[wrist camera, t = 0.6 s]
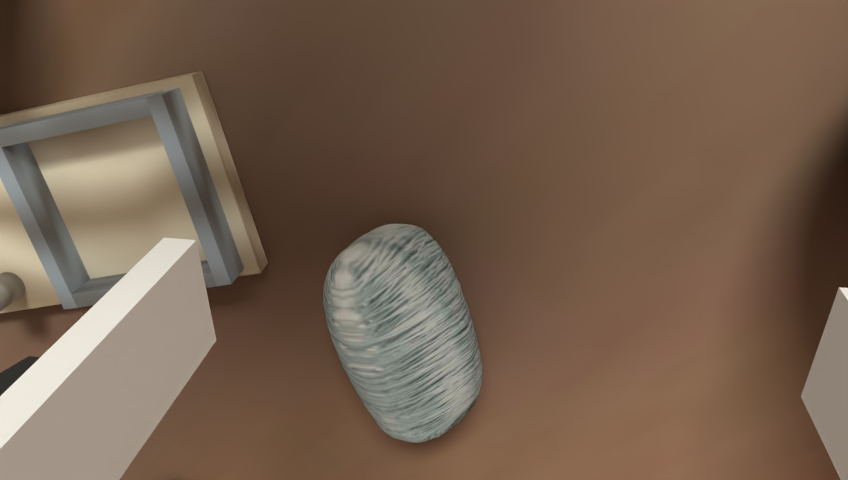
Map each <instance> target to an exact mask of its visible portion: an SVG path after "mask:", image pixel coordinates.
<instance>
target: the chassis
mask: <svg viewBox="0 0 848 480" xmlns="http://www.w3.org/2000/svg"><path fill="white" fill-rule="evenodd" d="M163 238H175V239H188V240H196V241H197V246H198V251H199V256H200V261H201V266H202V271H203V276H204V281H205V286H206V288H210V287H217V286H223V285H230V284H232V283H233V282H234V281H235V279H236V278H237V277H239V276H245V275H252V274H258V273H261V272H262V271H263V269H264V268H265V267H266V265H267V264H268V261H267V258H266V255H265V253H264V250H263V247H262V244H261V241H260V238H259V235H258V232H257V229H256V226H255V223H254V220H253V217H252V214H251V211H250V209H249V206H248V203H247V200H246V197H245V194H244V191H243V188H242V185H241V182H240V179H239V176H238V173H237V170H236V167H235V164H234V162H233V159H232V156H231V153H230V150H229V147H228V144H227V141H226V138H225V135H224V132H223V129H222V126H221V123H220V120H219V118H218V115H217V112H216V109H215V106H214V103H213V100H212V97H211V94H210V91H209V88H208V85H207V82H206V79H205V76H204V73H203V71H198V72H193V73H189V74H184V75H180V76H175V77H171V78H166V79H162V80H157V81H153V82H148V83H144V84H139V85H134V86H130V87H125V88H121V89H116V90H112V91H107V92H103V93H98V94H94V95H89V96H85V97H80V98H76V99H71V100H66V101H62V102H57V103H53V104H48V105H44V106H39V107H35V108H30V109H26V110H21V111H17V112H12V113H8V114H3V115H0V313H6V312H13V311H19V310H26V309H32V308H39V307H45V306H52V305H58V304H61V305H62V307H63V309H64V310H66V309H73V308H79V307H86V306H92V305H95V304H96V303H97V302H98V301H99V300H100V299H101V298H102V297H103V296H104V295H105V294H106V293H107V292H108V291H109V290H110V289H111V288H112V287H113V286H114V285H115V284H117V283H118V282H119V281H120V280H121V279H122V278H123V277H124V276H125V275H126V274H127V273H128V272H129V271H130V270H131V269H132V268H133V267H134V266H135V265H136V264H137V263H138V262H139V261H140V260H141V259H142V258H143V257H144V256H145V255H146V254H147V253H149V252H150V251H151V250H152V249H153V248H154V247H155V246H156V245H157V244H158V243H159V242H160V241H161V240H162V239H163Z"/></svg>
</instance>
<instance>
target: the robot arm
mask: <svg viewBox="0 0 848 480" xmlns="http://www.w3.org/2000/svg"><path fill="white" fill-rule="evenodd" d="M215 342H216V336H215V331H214V326H213V321H212V316H211V311H210V306H209V301H208V296H207V291H206V286H205V281H204V276H203V271H202V266H201V261H200V256H199V251H198V246H197V241H196V240H188V239H175V238H163V239H162V240H161V241H160V242H159V243H158V244H157V245H156V246H155V247H154V248H153V249H152V250H151V251H150V252H149V253H147V254H146V255H145V256H144V257H143V258H142V259H141V260H140V261H139V262H138V263H137V264H136V265H135V266H134V267H133V268H132V269H131V270H130V271H129V272H128V273H127V274H126V275H125V276H124V277H123V278H122V279H121V280H120V281H119V282H118V283H117V284H115V285H114V286H113V287H112V288H111V289H110V290H109V291H108V292H107V293H106V294H105V295H104V296H103V297H102V298H101V299H100V300H99V301H98V302H97V303H96V304H95V305H94V306H93V307H92V308H91V309H90V310H89V311H88V312H87V313H86V314H85V315H84V316H82V317H81V318H80V319H79V320H78V321H77V322H76V323H75V324H74V325H73V326H72V327H71V328H70V329H69V330H68V331H67V332H66V333H65V334H64V335H63V336H62V337H61V338H60V339H59V340H58V341H57V342H56V343H55V344H54V345H53V346H52V347H51V348H49V349H48V350H47V351H46V352H45V353H44V354H43V355H42V356H41V357H31V356H29V357H27V358H25V359H24V360H22V361H20V362H18V363H17V364H15V365H13V366H12V367H10V368H8V369H6V370H5V371H3V372H1V373H0V480H119V479H120V478H121V477H122V475H123V474H124V472H125V471H126V469H127V468H128V467H129V465H130V464H131V462H132V461H133V459H134V458H135V457H136V455H137V454H138V452H139V451H140V449H141V448H142V446H143V445H144V444H145V442H146V441H147V439H148V438H149V436H150V435H151V434H152V432H153V431H154V429H155V428H156V426H157V425H158V424H159V422H160V421H161V419H162V418H163V416H164V415H165V413H166V412H167V411H168V409H169V408H170V406H171V405H172V403H173V402H174V401H175V399H176V398H177V396H178V395H179V393H180V392H181V391H182V389H183V388H184V386H185V385H186V383H187V382H188V380H189V379H190V378H191V376H192V375H193V373H194V372H195V370H196V369H197V368H198V366H199V365H200V363H201V362H202V360H203V359H204V358H205V356H206V355H207V353H208V352H209V350H210V349H211V348H212V346H213V345H214V343H215ZM801 398H802V400H803V402H804V404H805V406H806V408H807V411H808V413H809V415H810V417H811V419H812V421H813V423H814V425H815V427H816V429H817V432H818V434H819V436H820V438H821V440H822V442H823V444H824V446H825V448H826V450H827V452H828V455H829V457H830V459H831V461H832V463H833V465H834V467H835V469H836V471H837V473H838V475H839V478H840V480H848V288H841V287H839V289H838V291H837V294H836V297H835V300H834V303H833V306H832V309H831V311H830V314H829V317H828V320H827V323H826V326H825V329H824V331H823V334H822V337H821V340H820V343H819V346H818V349H817V352H816V354H815V357H814V360H813V363H812V366H811V369H810V372H809V374H808V377H807V380H806V383H805V386H804V389H803V392H802V395H801Z"/></svg>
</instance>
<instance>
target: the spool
mask: <svg viewBox="0 0 848 480" xmlns="http://www.w3.org/2000/svg"><path fill="white" fill-rule="evenodd" d="M323 305H324V311H325V316H326V321H327V325H328V329H329V332H330V335H331V338H332V341H333V344H334V346H335V349H336V351H337V354H338V356H339V359H340V361H341V364H342V366H343V368H344V370H345V372H346V373H347V375H348V377H349V380H350V382H351V384H352V385H353V387H354V389H355V391H356V392H357V394H358V396H359V397H360V399H361V400H362V402H363V404H364V406H365V407H366V409H367V410H368V411H369V413H370V414H371V416H372V417H373V418H374V420H375V421H376V423H377V424H378V425H379V427H380V428H381V429H382V430H383V431H385V432H386V433H387V434H388V435H390V436H391V437H393V438H395V439H399V440H402V441H406V442H411V443H419V442H425V441H428V440H431V439H434V438H438V437H439V436H441V435H442V434H444V433H445V432H447V431H448V430H450V429H451V428H452V427H454V426H455V425H456V424H458V423H459V422H460V421H461V420H462V419H463V418H464V416H465V415H466V414H467V413H468V412H469V410H470V409H471V408H472V406H473V405H474V403H475V402H476V400H477V397H478V395H479V392H480V388H481V384H482V373H483V366H482V361H481V355H480V350H479V345H478V341H477V337H476V332H475V329H474V325H473V321H472V318H471V315H470V312H469V309H468V306H467V302H466V299H465V296H464V294H463V292H462V289H461V286H460V283H459V281H458V279H457V277H456V275H455V272H454V270H453V268H452V265H451V263H450V261H449V259H448V257H447V256H446V254H445V253H444V251H443V250H442V248H441V247H440V246H439V244H438V243H437V242H436V241H435V240H434V239H433V238H432V237H431V236H430V235H429V234H428V233H427V232H426V231H425V230H424V229H423V228H421V227H417V226H414V225H409V224H387V225H383V226H380V227H378V228H375V229H373V230H371V231H370V232H368V233H367V234H364V235H362V236H361V237H359V238H358V239H357V240H355V241H354V242H353V243H351V244H350V245H349V246H348V247H347V248H346V249H344V250H343V251H342V252H341V253H340V254H339V255H338V256H337V258H336V259H335V260H334V262H333V263H332V265H331V267H330V268H329V270H328V272H327V276H326V279H325V283H324V290H323Z"/></svg>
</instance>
